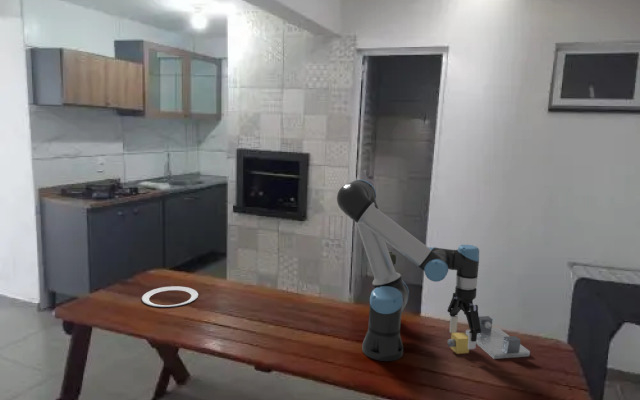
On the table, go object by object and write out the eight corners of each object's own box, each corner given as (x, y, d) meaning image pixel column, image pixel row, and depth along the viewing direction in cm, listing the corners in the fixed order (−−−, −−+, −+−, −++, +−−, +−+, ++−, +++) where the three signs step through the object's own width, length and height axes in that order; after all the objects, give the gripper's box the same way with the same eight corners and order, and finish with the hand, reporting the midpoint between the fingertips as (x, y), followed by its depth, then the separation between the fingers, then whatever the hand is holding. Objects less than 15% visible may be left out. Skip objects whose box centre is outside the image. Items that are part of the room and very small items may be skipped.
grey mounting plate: (530, 356, 170) (532, 338, 169) (494, 359, 167) (496, 341, 166) (497, 331, 191) (499, 315, 189) (464, 333, 187) (466, 317, 186)
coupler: (451, 354, 170) (453, 339, 169) (445, 347, 175) (446, 333, 174) (473, 352, 172) (475, 337, 171) (466, 346, 177) (468, 331, 176)
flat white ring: (189, 310, 199) (189, 307, 199) (132, 307, 199) (132, 304, 199) (204, 289, 224) (204, 287, 223) (153, 287, 224) (153, 284, 224)
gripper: (494, 298, 158) (489, 355, 161) (458, 275, 182) (454, 325, 185) (475, 299, 156) (470, 357, 160) (441, 276, 180) (437, 326, 184)
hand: (461, 340), depth 172 cm, fingers open, 13 cm apart
